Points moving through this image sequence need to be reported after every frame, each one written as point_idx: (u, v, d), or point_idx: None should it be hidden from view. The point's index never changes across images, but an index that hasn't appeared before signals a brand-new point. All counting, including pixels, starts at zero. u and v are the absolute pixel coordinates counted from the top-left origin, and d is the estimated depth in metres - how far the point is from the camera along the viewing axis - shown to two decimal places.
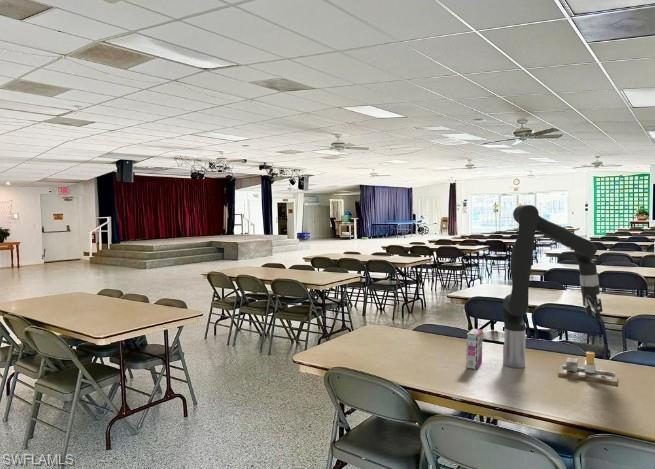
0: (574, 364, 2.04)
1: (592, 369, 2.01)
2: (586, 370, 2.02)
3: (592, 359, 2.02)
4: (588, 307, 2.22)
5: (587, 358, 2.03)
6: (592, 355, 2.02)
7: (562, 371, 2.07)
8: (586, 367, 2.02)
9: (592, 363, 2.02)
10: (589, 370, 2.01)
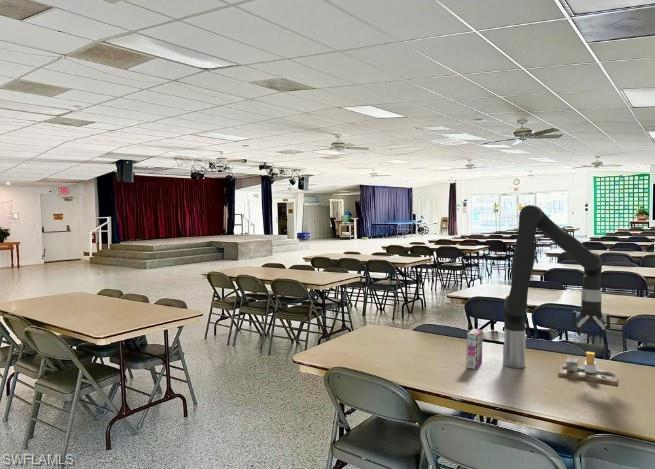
0: (574, 364, 2.04)
1: (592, 369, 2.01)
2: (586, 370, 2.02)
3: (592, 359, 2.02)
4: (602, 327, 2.01)
5: (587, 358, 2.03)
6: (592, 355, 2.02)
7: (562, 371, 2.07)
8: (586, 367, 2.02)
9: (592, 363, 2.02)
10: (589, 370, 2.01)
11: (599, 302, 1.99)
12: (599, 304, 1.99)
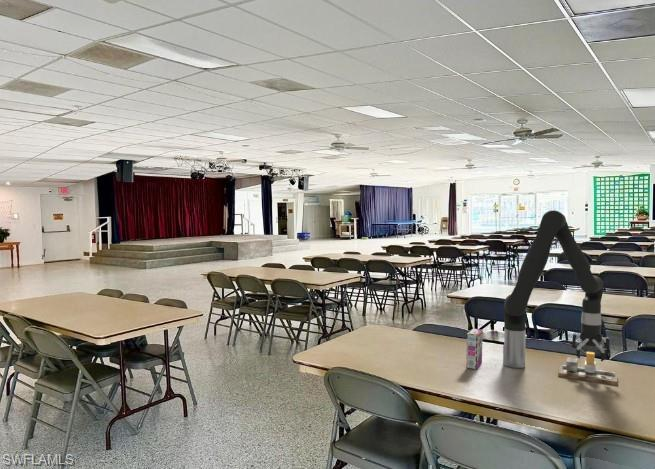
0: (574, 364, 2.04)
1: (592, 369, 2.01)
2: (586, 370, 2.02)
3: (592, 359, 2.02)
4: None
5: (587, 358, 2.03)
6: (592, 355, 2.02)
7: (562, 371, 2.07)
8: (586, 367, 2.02)
9: (592, 363, 2.02)
10: (589, 370, 2.01)
11: (599, 326, 1.99)
12: (599, 328, 1.99)
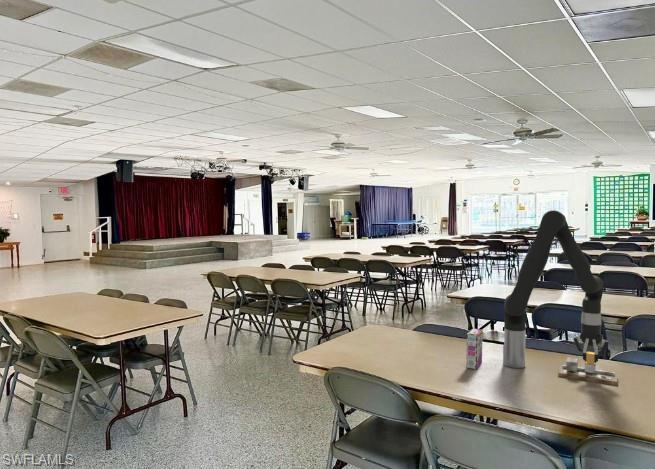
0: (574, 364, 2.04)
1: (592, 369, 2.01)
2: (586, 370, 2.02)
3: (592, 359, 2.02)
4: None
5: (587, 358, 2.03)
6: (592, 355, 2.02)
7: (562, 371, 2.07)
8: (586, 367, 2.02)
9: (592, 363, 2.02)
10: (589, 370, 2.01)
11: (599, 326, 1.99)
12: (599, 328, 1.99)
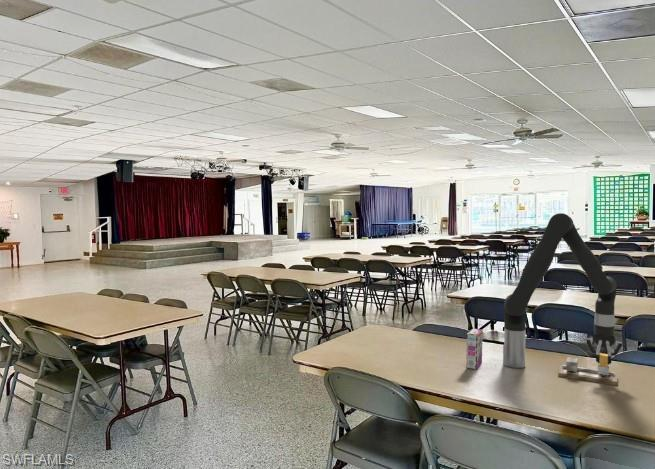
0: (574, 364, 2.04)
1: (605, 371, 1.98)
2: (599, 372, 1.99)
3: (605, 361, 1.99)
4: (608, 353, 2.00)
5: (600, 359, 2.00)
6: (605, 357, 1.99)
7: (562, 371, 2.07)
8: (599, 369, 1.99)
9: (605, 365, 1.99)
10: (602, 372, 1.99)
11: (612, 327, 1.97)
12: (612, 329, 1.97)
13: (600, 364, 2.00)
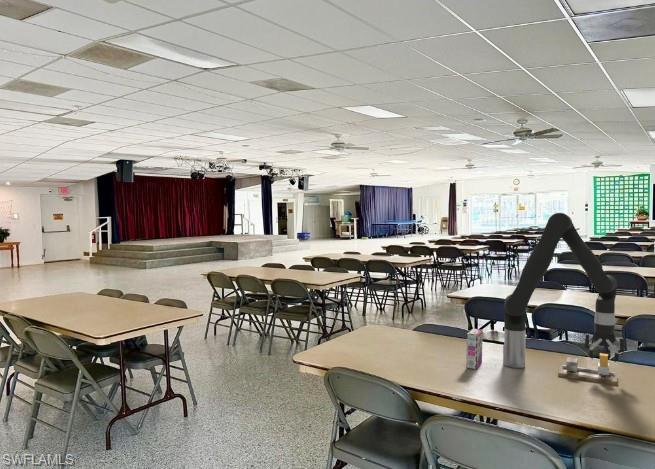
0: (574, 364, 2.04)
1: (606, 371, 1.98)
2: (599, 372, 1.99)
3: (606, 361, 1.99)
4: (615, 351, 1.99)
5: (600, 360, 2.00)
6: (606, 357, 1.99)
7: (562, 371, 2.07)
8: (599, 369, 1.99)
9: (606, 365, 1.99)
10: (603, 372, 1.99)
11: (613, 326, 1.97)
12: (613, 328, 1.97)
13: (600, 364, 2.00)
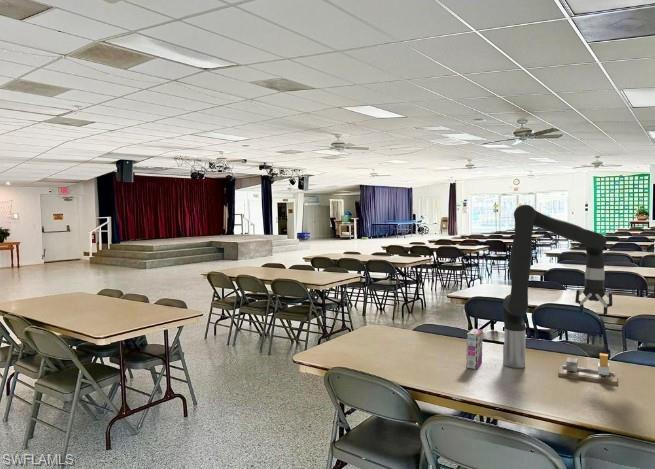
0: (574, 364, 2.04)
1: (606, 371, 1.98)
2: (599, 372, 1.99)
3: (606, 361, 1.99)
4: (604, 305, 2.07)
5: (600, 360, 2.00)
6: (606, 357, 1.99)
7: (562, 371, 2.07)
8: (599, 369, 1.99)
9: (606, 365, 1.99)
10: (603, 372, 1.99)
11: (602, 280, 2.05)
12: (602, 282, 2.05)
13: (600, 364, 2.00)
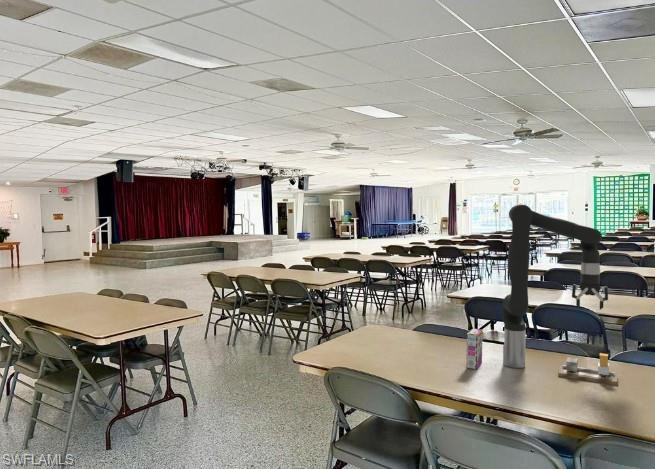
0: (574, 364, 2.04)
1: (606, 371, 1.98)
2: (599, 372, 1.99)
3: (606, 361, 1.99)
4: (600, 299, 2.10)
5: (600, 360, 2.00)
6: (606, 357, 1.99)
7: (562, 371, 2.07)
8: (599, 369, 1.99)
9: (606, 365, 1.99)
10: (603, 372, 1.99)
11: (598, 275, 2.08)
12: (598, 277, 2.08)
13: (600, 364, 2.00)
